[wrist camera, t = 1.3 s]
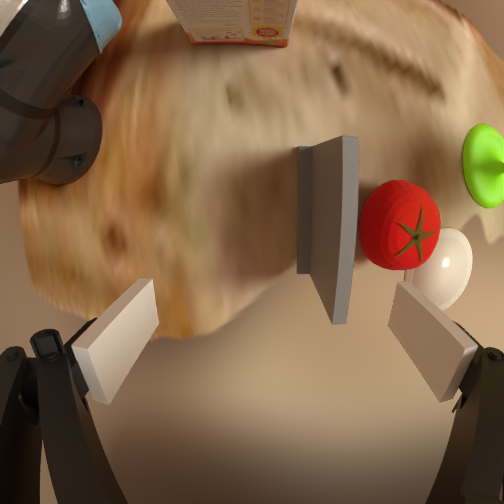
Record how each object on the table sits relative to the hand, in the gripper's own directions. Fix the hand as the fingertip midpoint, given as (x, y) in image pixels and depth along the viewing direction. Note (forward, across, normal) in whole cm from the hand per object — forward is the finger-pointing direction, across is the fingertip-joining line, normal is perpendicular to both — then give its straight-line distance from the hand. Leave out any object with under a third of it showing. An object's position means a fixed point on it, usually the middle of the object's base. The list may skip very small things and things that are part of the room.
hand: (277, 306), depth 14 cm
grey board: (+26, +7, +1) cm, 27 cm away
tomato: (+26, +18, +1) cm, 32 cm away
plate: (+27, +31, -8) cm, 42 cm away
